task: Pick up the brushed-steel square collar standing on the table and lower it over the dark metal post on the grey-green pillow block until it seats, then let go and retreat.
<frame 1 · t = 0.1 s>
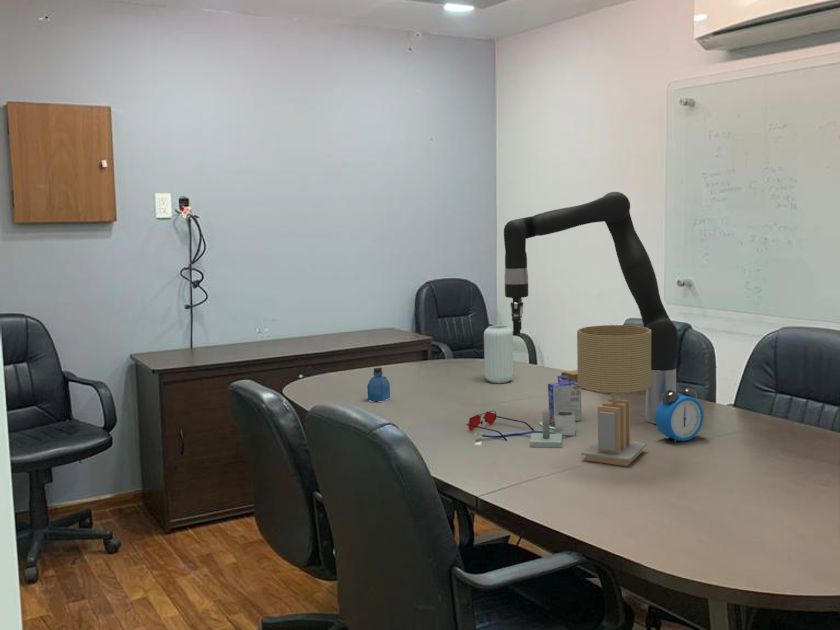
hand: (517, 331, 258), 29 cm above the table, fingers open, 8 cm apart
ink cartridge box: (565, 420, 260), on the table
shaft block: (546, 442, 235), on the table
alarm clock: (679, 439, 234), on the table
grey hollow cube: (565, 432, 245), on the table
vase: (499, 381, 321), on the table
desk lamp: (614, 457, 221), on the table
glasses: (500, 432, 250), on the table
book: (598, 387, 306), on the table
perfume bottle: (379, 400, 296), on the table
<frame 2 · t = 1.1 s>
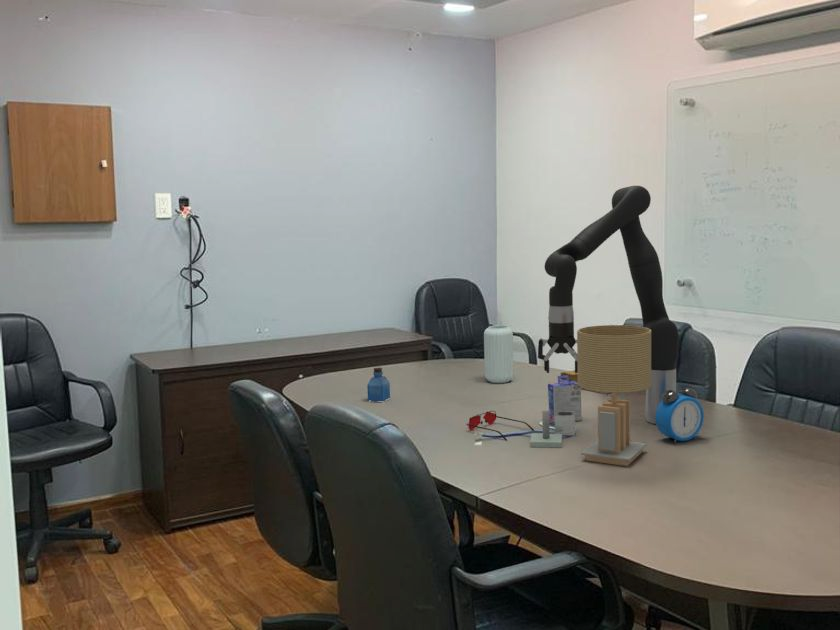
hand: (561, 372, 244), 19 cm above the table, fingers open, 8 cm apart
nothing on the table moved.
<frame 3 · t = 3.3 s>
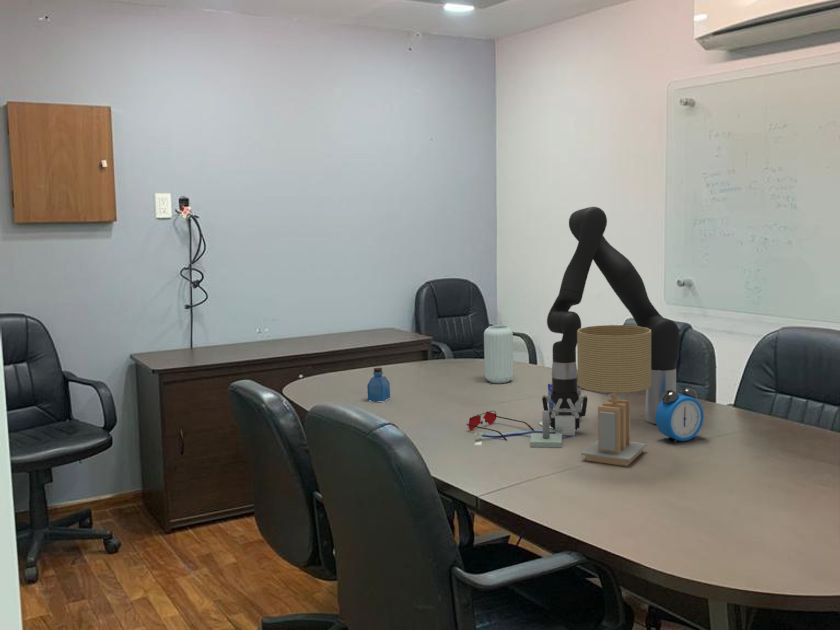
hand: (565, 429, 245), 1 cm above the table, fingers closed on grey hollow cube, 6 cm apart
grey hollow cube: (565, 432, 245), on the table, touching gripper
everything else where it was.
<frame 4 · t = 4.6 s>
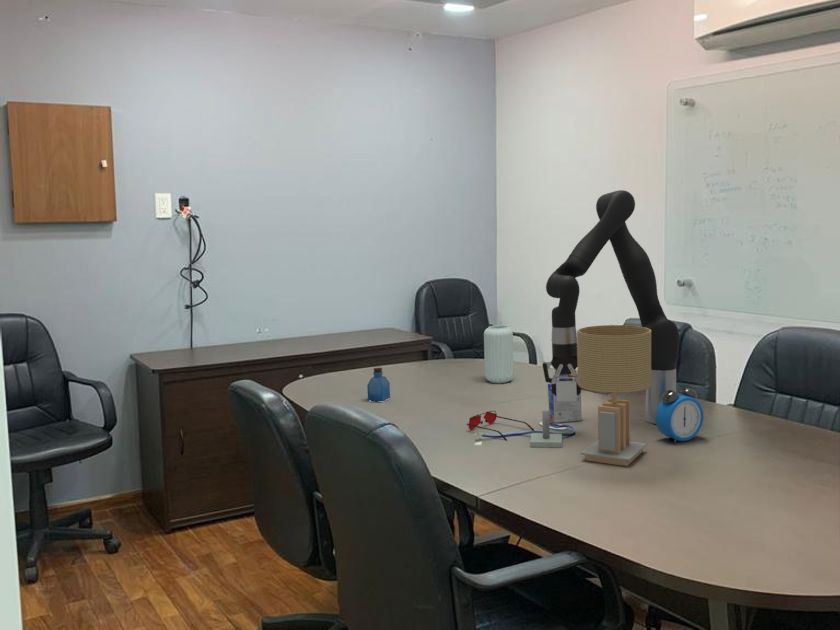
hand: (566, 395, 243), 12 cm above the table, fingers closed on grey hollow cube, 6 cm apart
grey hollow cube: (566, 398, 243), point 11 cm above the table, touching gripper
everything else where it was.
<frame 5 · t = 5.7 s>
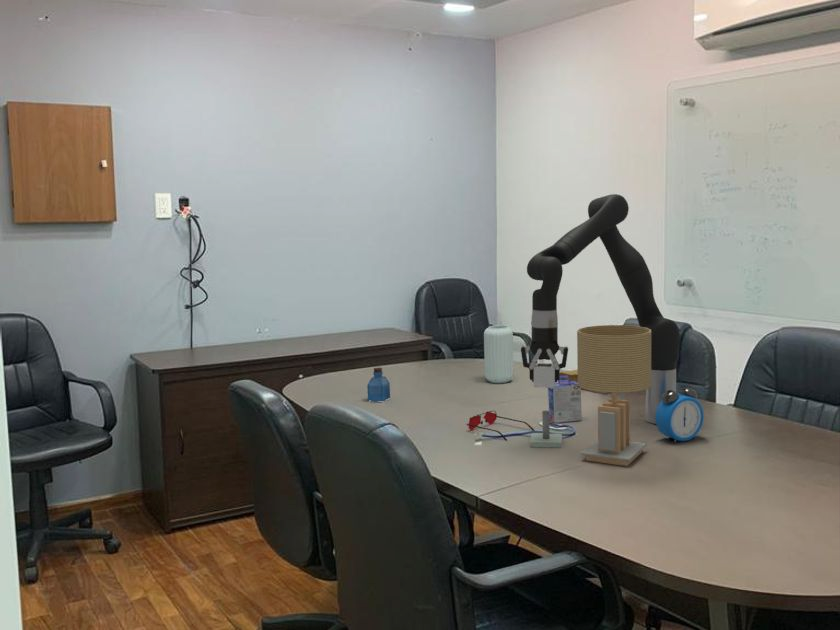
hand: (544, 381, 234), 18 cm above the table, fingers closed on grey hollow cube, 6 cm apart
grey hollow cube: (544, 385, 234), point 17 cm above the table, touching gripper
everything else where it was.
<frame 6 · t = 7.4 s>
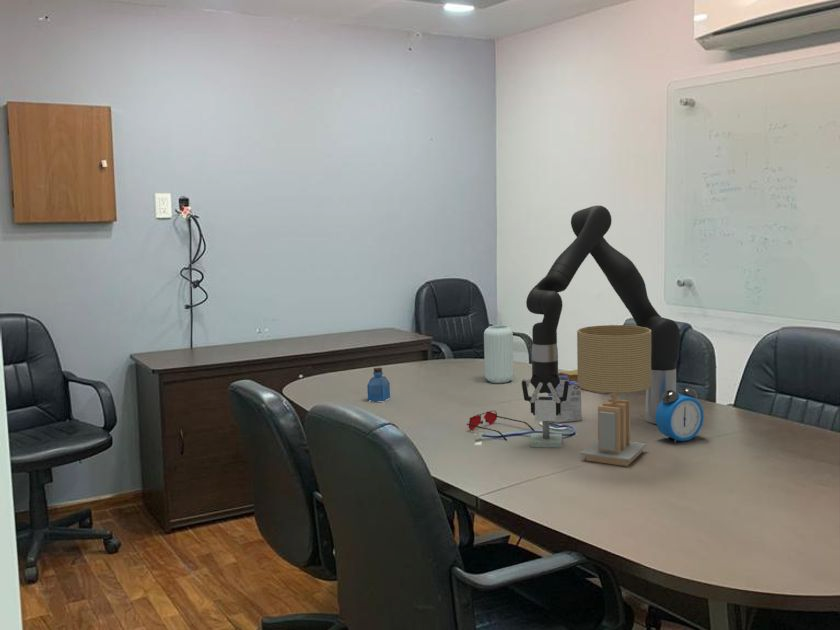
hand: (545, 414, 234), 9 cm above the table, fingers closed on grey hollow cube, 6 cm apart
grey hollow cube: (545, 418, 235), point 7 cm above the table, touching gripper
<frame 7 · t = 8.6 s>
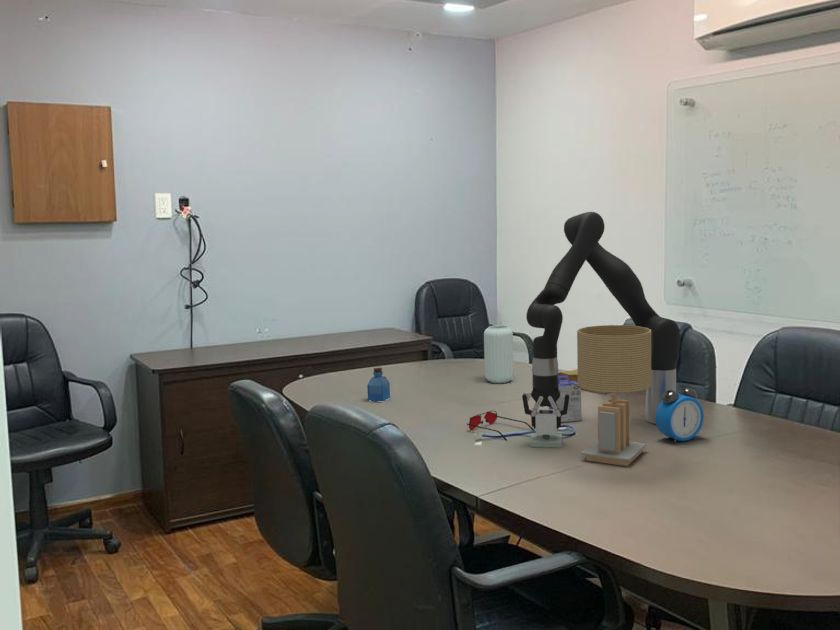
hand: (546, 427, 235), 4 cm above the table, fingers closed on grey hollow cube, 6 cm apart
grey hollow cube: (546, 431, 235), point 3 cm above the table, touching gripper
when the fingers open (5 cm above the table, at t = 8.8 s): grey hollow cube drops 2 cm, resting on shaft block.
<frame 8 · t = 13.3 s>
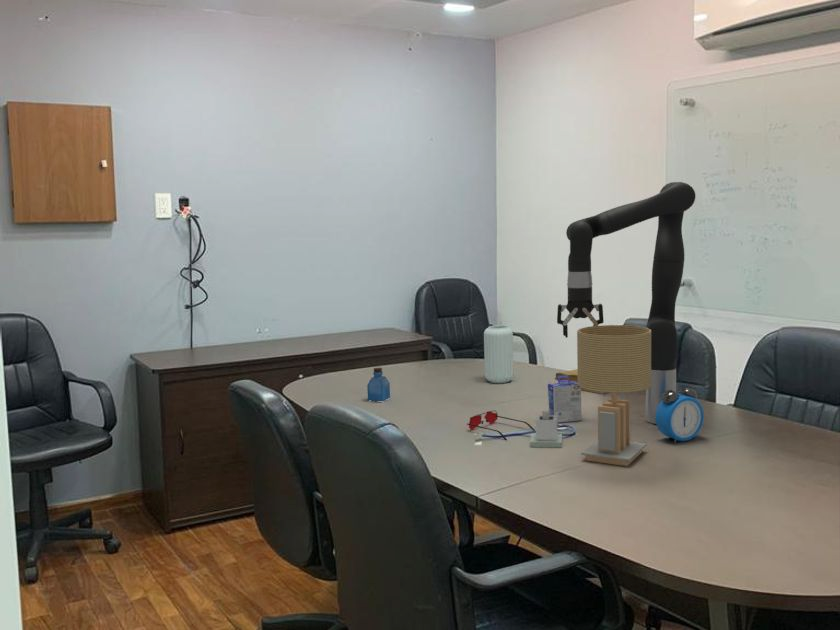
hand: (580, 337, 250), 28 cm above the table, fingers open, 8 cm apart
grey hollow cube: (546, 437, 235), point 1 cm above the table, touching shaft block
at the end: grey hollow cube 0.2 cm off-centre on the shaft block, point 1.5 cm above the shaft block's base; grey hollow cube tilted 0°; the gripper is holding nothing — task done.
